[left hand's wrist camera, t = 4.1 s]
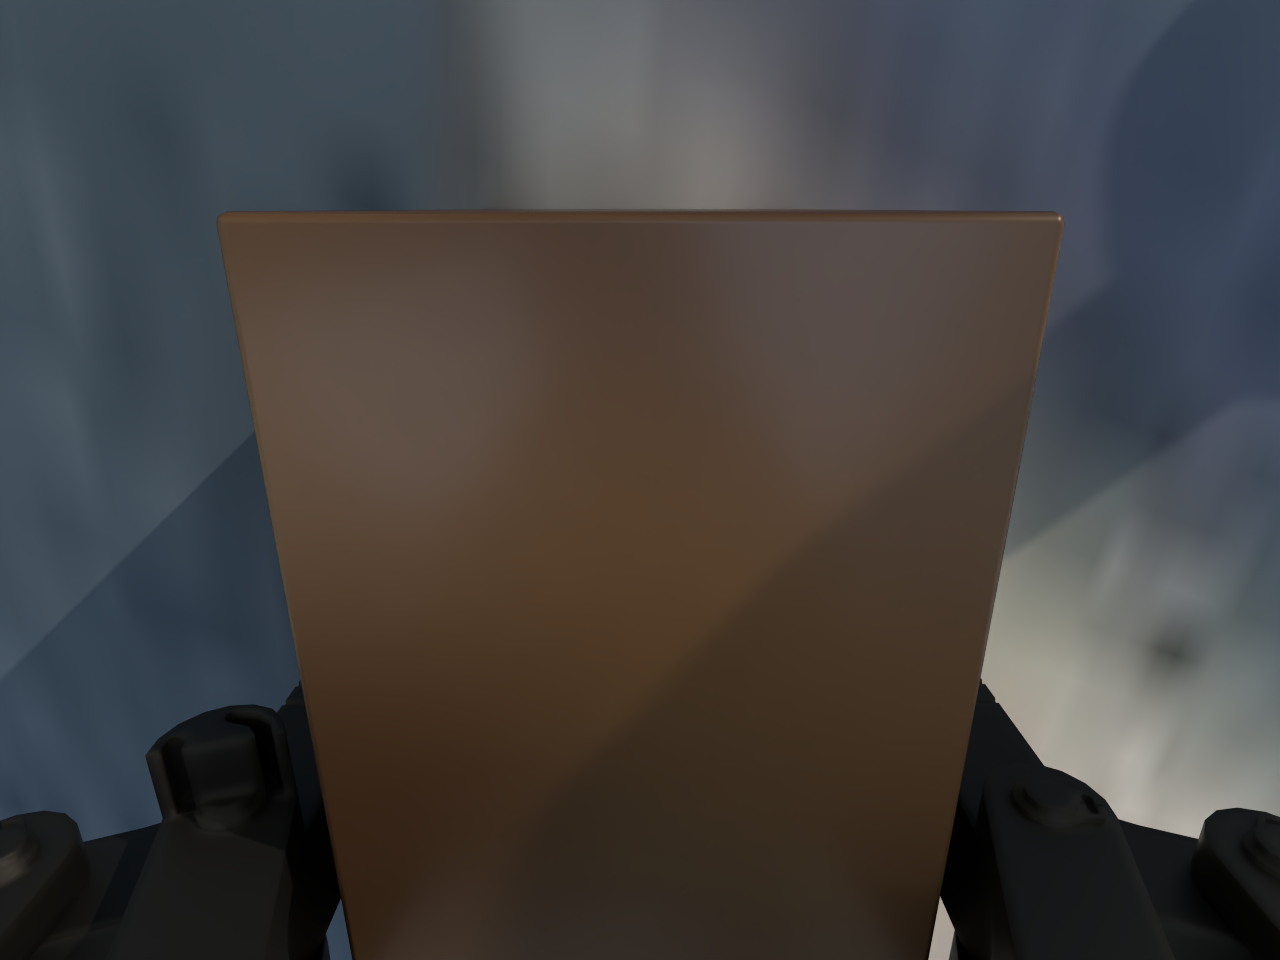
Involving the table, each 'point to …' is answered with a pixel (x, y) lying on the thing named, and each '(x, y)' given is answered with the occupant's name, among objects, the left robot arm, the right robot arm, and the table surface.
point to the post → (640, 560)
